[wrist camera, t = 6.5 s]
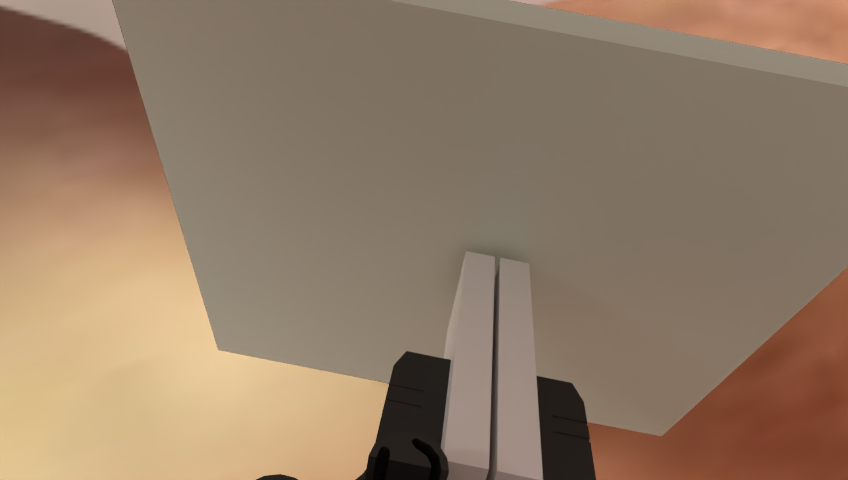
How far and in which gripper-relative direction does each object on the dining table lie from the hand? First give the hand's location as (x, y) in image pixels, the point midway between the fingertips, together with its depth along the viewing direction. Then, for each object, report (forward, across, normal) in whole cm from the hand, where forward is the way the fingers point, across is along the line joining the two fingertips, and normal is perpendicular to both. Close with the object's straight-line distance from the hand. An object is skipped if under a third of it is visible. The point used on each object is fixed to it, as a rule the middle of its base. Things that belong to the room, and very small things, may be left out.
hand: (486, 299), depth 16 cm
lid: (+1, 0, 0) cm, 2 cm away
